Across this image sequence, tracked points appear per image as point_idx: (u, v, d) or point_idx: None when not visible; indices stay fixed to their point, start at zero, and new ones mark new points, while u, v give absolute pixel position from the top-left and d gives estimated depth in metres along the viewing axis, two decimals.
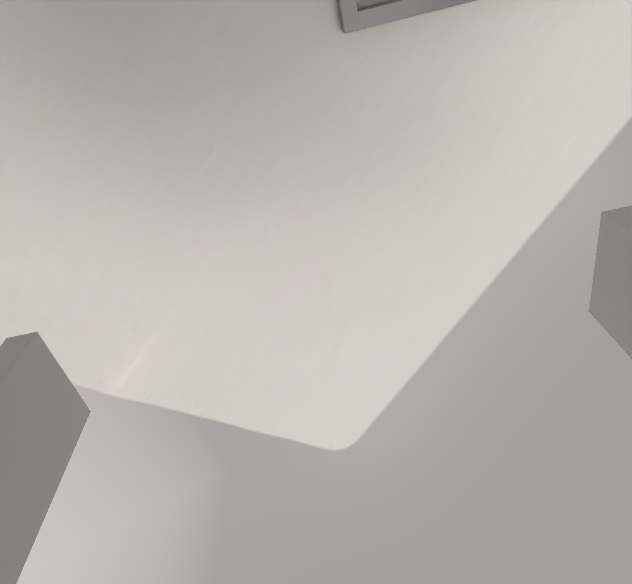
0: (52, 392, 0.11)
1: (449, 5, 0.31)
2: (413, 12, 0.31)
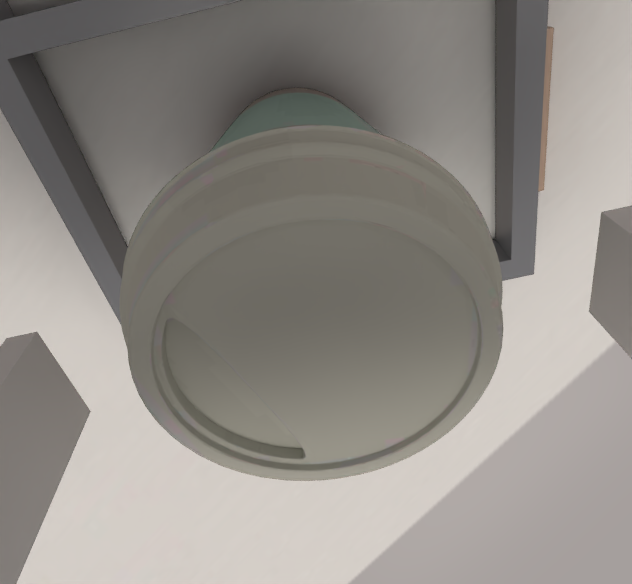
0: (52, 392, 0.11)
1: None
2: None
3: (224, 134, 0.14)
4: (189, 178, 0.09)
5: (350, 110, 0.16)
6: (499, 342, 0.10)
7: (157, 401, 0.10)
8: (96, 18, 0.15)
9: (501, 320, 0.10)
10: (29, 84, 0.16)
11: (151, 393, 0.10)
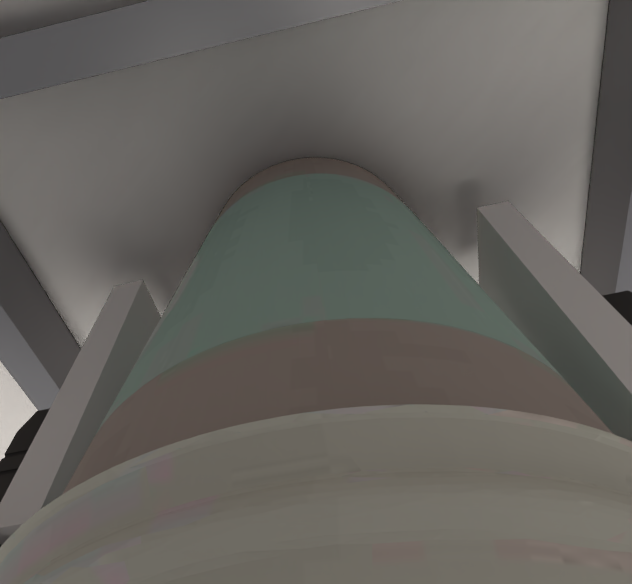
0: None
1: None
2: None
3: (204, 256, 0.09)
4: (81, 525, 0.04)
5: (397, 203, 0.11)
6: None
7: None
8: (9, 69, 0.10)
9: None
10: None
11: None
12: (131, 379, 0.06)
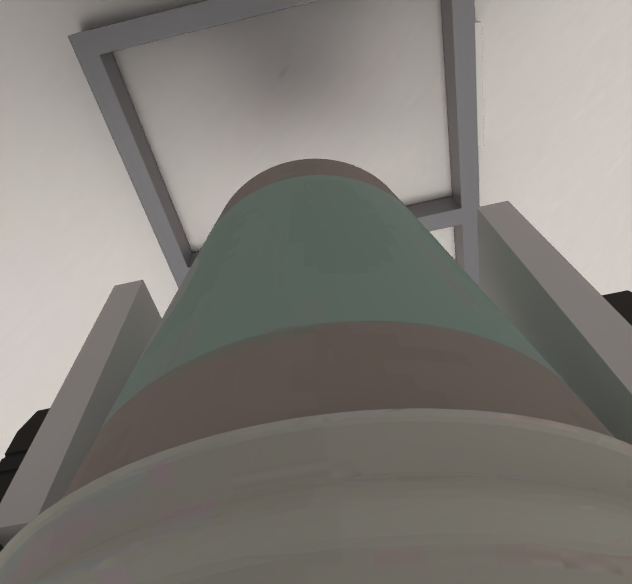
0: None
1: None
2: None
3: (204, 258, 0.09)
4: (82, 529, 0.04)
5: (397, 205, 0.11)
6: None
7: None
8: None
9: None
10: None
11: None
12: (132, 381, 0.06)
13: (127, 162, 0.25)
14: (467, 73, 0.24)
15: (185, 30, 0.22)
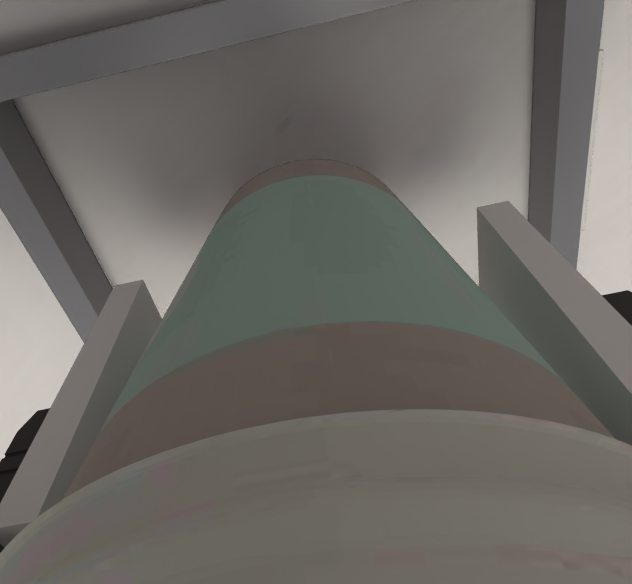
0: None
1: None
2: None
3: (204, 258, 0.09)
4: (83, 530, 0.04)
5: (397, 205, 0.11)
6: None
7: None
8: None
9: None
10: None
11: None
12: (132, 382, 0.06)
13: (42, 265, 0.16)
14: (577, 132, 0.15)
15: (119, 68, 0.13)
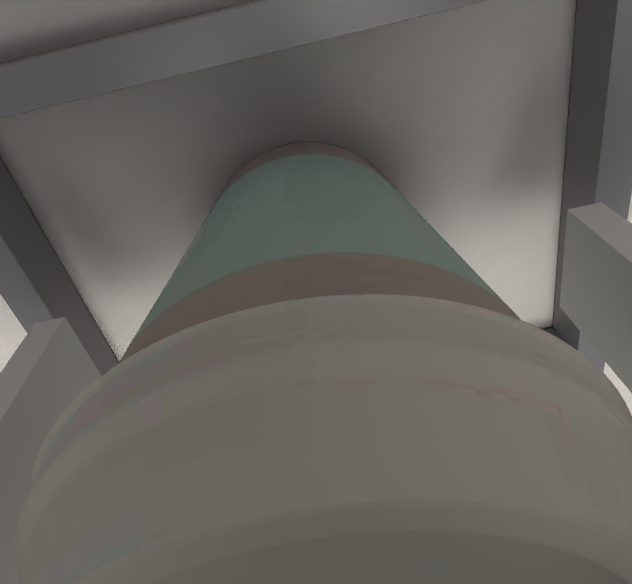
0: (79, 375, 0.12)
1: None
2: None
3: (209, 223, 0.10)
4: (124, 388, 0.05)
5: (381, 180, 0.12)
6: None
7: None
8: None
9: None
10: None
11: None
12: (151, 313, 0.08)
13: (16, 305, 0.14)
14: (621, 159, 0.13)
15: (98, 89, 0.11)
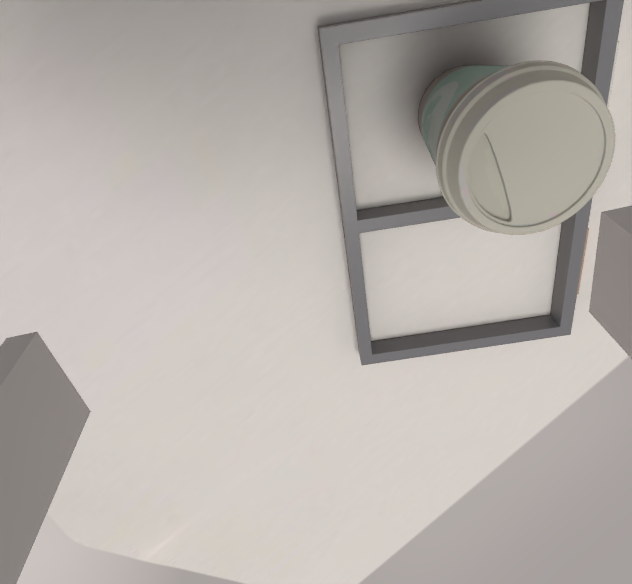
0: (52, 392, 0.11)
1: (438, 353, 0.42)
2: (412, 356, 0.42)
3: (455, 79, 0.28)
4: (494, 78, 0.23)
5: None
6: (611, 157, 0.23)
7: (465, 175, 0.23)
8: (401, 220, 0.36)
9: (614, 145, 0.23)
10: None
11: (464, 170, 0.23)
12: (464, 88, 0.25)
13: (335, 130, 0.32)
14: (604, 78, 0.31)
15: (406, 31, 0.29)
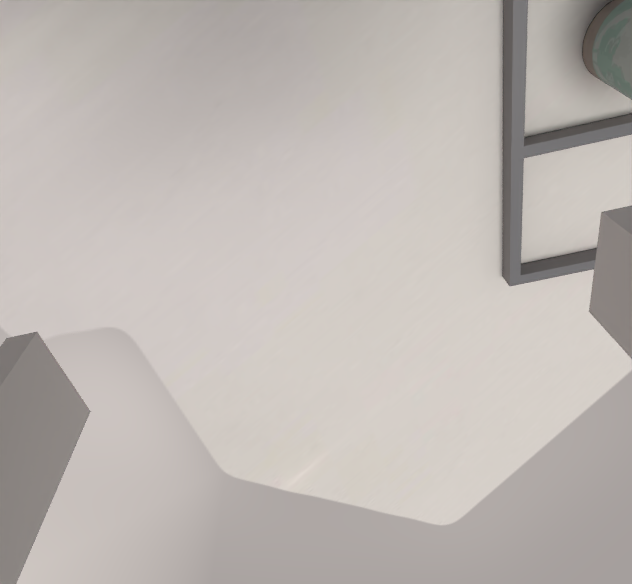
0: (52, 392, 0.11)
1: (580, 271, 0.46)
2: (556, 275, 0.46)
3: None
4: None
5: None
6: None
7: None
8: (563, 144, 0.40)
9: None
10: None
11: None
12: None
13: (515, 61, 0.36)
14: None
15: None
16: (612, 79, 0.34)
